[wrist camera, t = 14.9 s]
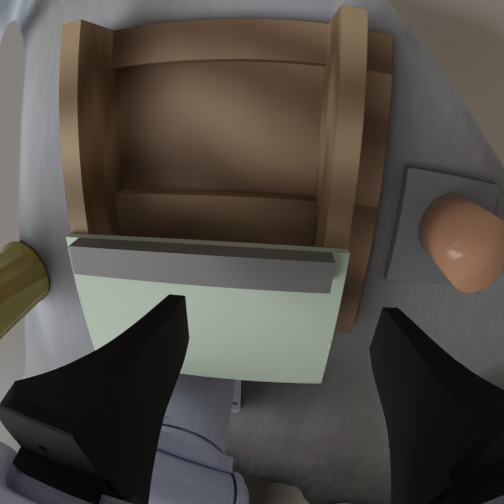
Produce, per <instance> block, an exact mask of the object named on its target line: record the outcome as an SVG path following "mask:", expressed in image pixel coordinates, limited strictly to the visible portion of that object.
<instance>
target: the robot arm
mask: <svg viewBox="0 0 504 504" xmlns="http://www.w3.org/2000/svg"><path fill="white" fill-rule="evenodd" d="M188 343H189V329H188V319H187V309H186V298H185V296H183V295H172V294H169V295H168V296H167V297H165V298H164V299H163V300H162V301H161V302H159V303H158V304H157V305H156V306H155V307H154V308H153V309H151V310H150V311H149V312H148V313H147V314H146V315H144V316H143V317H142V318H141V319H139V320H138V321H137V322H136V323H135V324H133V325H132V326H131V327H129V328H128V329H127V330H125V331H124V332H123V333H121V334H120V335H119V336H117V337H116V338H114V339H113V340H111V341H110V342H108V343H107V344H105V345H104V346H102V347H100V348H99V349H97V350H95V351H94V352H92V353H90V354H88V355H86V356H84V357H82V358H80V359H78V360H76V361H74V362H72V363H70V364H67V365H65V366H62V367H60V368H58V369H55V370H52V371H49V372H47V373H44V374H40V375H37V376H33V377H30V378H26V379H22V380H18V381H15V382H14V384H13V385H12V387H11V388H10V390H9V391H8V392H7V394H6V395H5V397H4V398H3V400H2V401H1V403H0V420H1V422H2V423H3V425H4V426H5V428H6V429H7V430H8V431H9V433H10V434H11V435H12V436H13V437H14V439H15V440H16V441H17V442H18V443H19V444H20V446H21V448H20V450H19V452H18V453H17V452H16V451H15V450H13V449H12V448H11V447H9V446H7V445H5V444H4V443H2V442H0V504H249V495H248V490H247V487H246V485H245V482H244V479H243V477H242V476H241V475H240V474H239V473H237V472H233V471H232V465H233V458H232V457H229V456H227V455H225V451H226V444H227V437H228V430H229V423H230V416H231V412H239V411H240V408H241V380H235V379H224V378H214V377H204V376H195V375H187V374H180V372H181V369H182V366H183V363H184V360H185V356H186V352H187V348H188ZM370 356H371V363H372V370H373V374H374V378H375V382H376V385H377V389H378V393H379V396H380V400H381V404H382V407H383V411H384V415H385V419H386V424H387V430H388V438H389V447H390V461H391V504H504V390H503V389H500V388H499V387H497V386H495V385H493V384H491V383H489V382H488V381H486V380H484V379H483V378H481V377H479V376H478V375H476V374H475V373H473V372H472V371H470V370H469V369H467V368H466V367H465V366H463V365H462V364H460V363H459V362H458V361H456V360H455V359H454V358H453V357H451V356H450V355H449V354H448V353H447V352H445V351H444V350H443V349H442V348H441V347H440V346H438V345H437V344H436V343H435V342H434V341H433V340H432V339H431V338H430V337H429V336H427V335H426V334H425V333H424V332H423V331H422V330H421V329H420V328H419V327H418V326H417V325H416V324H415V323H414V322H413V321H412V320H411V319H410V318H408V317H407V316H406V315H405V314H404V313H403V312H402V311H401V310H399V309H398V308H386V307H383V308H382V311H381V314H380V318H379V321H378V324H377V327H376V330H375V333H374V337H373V340H372V343H371V346H370Z"/></svg>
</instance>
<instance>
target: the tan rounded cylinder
mask: <svg viewBox="0 0 504 504" xmlns="http://www.w3.org/2000/svg"><path fill="white" fill-rule="evenodd" d="M419 240H420V244H421V246H422V248H423V250H424V251H425V253H426V254H427V255H428V256H429V257H430V258H431V260H432V261H433V262H434V263H435V264H436V265H437V267H438V268H439V269H440V270H441V271H442V272H443V274H444V275H445V276H446V277H447V278H448V280H449V281H450V282H451V283H452V285H453V286H454V287H455V288H456V289H458V290H459V291H462V292H465V293H474V292H478V291H481V290H483V289H485V288H487V287H488V286H489V285H491V284H492V283H493V282H494V281H495V280H496V279H497V278H498V277H499V276H500V274H501V273H502V271H503V270H504V221H502V220H501V219H500V218H498V217H497V216H495V215H494V214H492V213H491V212H489V211H488V210H486V209H484V208H483V207H481V206H480V205H478V204H476V203H475V202H473V201H472V200H470V199H468V198H467V197H465V196H463V195H461V194H458V193H447V194H444V195H442V196H439V197H438V198H436V199H435V200H434V201H433V202H432V203H431V204H430V205H429V206H428V207H427V208H426V210H425V212H424V214H423V216H422V218H421V221H420V225H419Z"/></svg>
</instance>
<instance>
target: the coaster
mask: <svg viewBox="0 0 504 504" xmlns="http://www.w3.org/2000/svg"><path fill="white" fill-rule="evenodd" d="M499 187H500V186H499V185H497V184H495V183H491V182H486V181H482V180H477V179H473V178H468V177H463V176H458V175H453V174H448V173H443V172H437V171H432V170H426V169H420V168H414V167H407V166H405V170H404V177H403V184H402V190H401V196H400V202H399V208H398V213H397V219H396V224H395V229H394V234H393V239H392V244H391V248H390V253H389V257H388V262H387V266H386V270H385V274H384V278H385V279H386V281H403V282H431V283H451V282H450V281H449V280H448V278H447V277H446V276H445V275H444V274H443V272H442V271H441V270H440V269H439V268H438V267H437V265H436V264H435V263H434V262H433V261H432V260H431V258H430V257H429V256H428V255H427V254H426V253H425V251H424V250H423V248H422V246H421V244H420V240H419V225H420V221H421V218H422V216H423V214H424V212H425V210H426V208H427V207H428V206H429V205H430V204H431V203H432V202H433V201H434V200H435V199H436V198H438V197H439V196H442V195H444V194H447V193H458V194H461V195H463V196H465V197H467V198H468V199H470V200H472V201H473V202H475V203H476V204H478V205H480V206H481V207H483V208H484V209H486V210H488V211H489V212H491V213H492V214H494V211H495V206H496V202H497V197H498V192H499Z"/></svg>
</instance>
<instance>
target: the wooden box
mask: <svg viewBox="0 0 504 504" xmlns="http://www.w3.org/2000/svg"><path fill="white" fill-rule="evenodd" d="M392 64H393V36H392V35H388V34H383V33H379V32H374V31H369V30H368V9H363V8H357V7H352V6H346V5H341V6H340V8H339V9H338V11H337V12H336V13H335V15H334V16H333V18H332V19H331V21H330V22H329V24H325V23H316V22H306V21H295V20H280V19H253V18H231V19H204V20H189V21H178V22H168V23H159V24H152V25H145V26H138V27H132V28H126V29H121V30H115V31H113V30H110V29H107V28H104V27H101V26H99V25H96V24H93V23H90V22H87V21H84V20H78V21H74V22H71V23H68V24H64V25H63V28H62V39H61V53H60V78H59V111H60V137H61V153H62V165H63V175H64V184H65V193H66V201H67V208H68V215H69V221H70V227H71V233H72V234H93V235H113V236H133V237H152V238H171V239H189V240H207V241H225V242H242V243H259V244H276V245H292V246H308V247H324V248H340V249H348V250H349V252H350V256H349V262H348V267H347V272H346V278H345V283H344V288H343V293H342V298H341V303H340V307H339V312H338V317H337V321H336V325H335V330H334V333H352V329H353V325H354V321H355V317H356V313H357V309H358V305H359V301H360V297H361V293H362V288H363V284H364V279H365V275H366V270H367V265H368V261H369V256H370V251H371V246H372V240H373V235H374V229H375V224H376V218H377V212H378V206H379V200H380V193H381V186H382V179H383V172H384V164H385V156H386V147H387V137H388V127H389V116H390V103H391V87H392Z"/></svg>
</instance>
